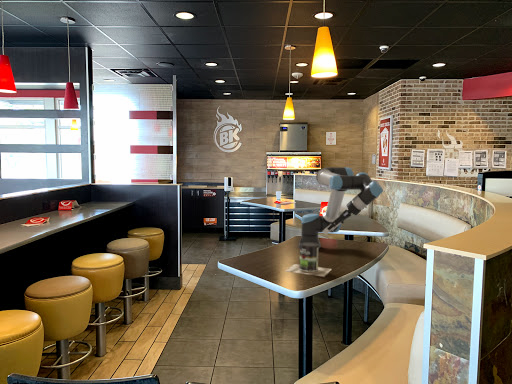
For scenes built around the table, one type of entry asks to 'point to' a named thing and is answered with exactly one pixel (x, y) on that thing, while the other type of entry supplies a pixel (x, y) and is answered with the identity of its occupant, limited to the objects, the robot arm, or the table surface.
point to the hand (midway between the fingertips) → (327, 230)
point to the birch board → (319, 272)
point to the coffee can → (308, 257)
